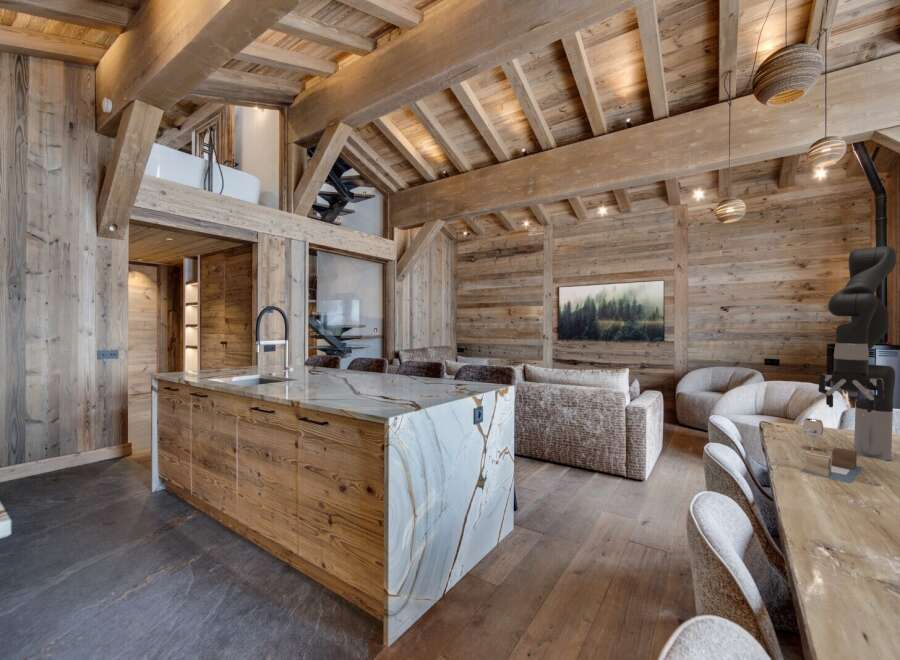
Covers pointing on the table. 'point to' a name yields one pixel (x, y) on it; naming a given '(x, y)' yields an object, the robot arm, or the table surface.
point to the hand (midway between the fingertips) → (849, 409)
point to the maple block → (818, 464)
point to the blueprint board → (841, 473)
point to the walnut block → (844, 458)
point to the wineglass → (813, 428)
